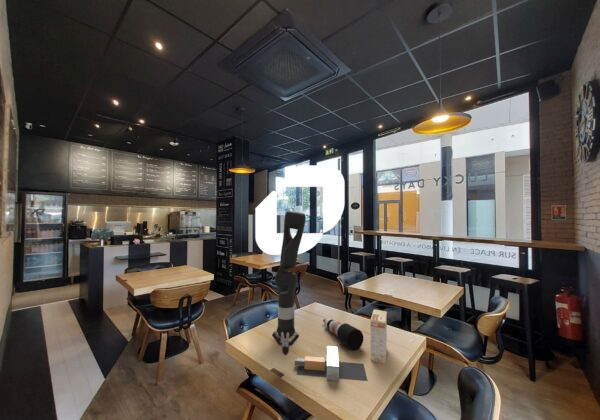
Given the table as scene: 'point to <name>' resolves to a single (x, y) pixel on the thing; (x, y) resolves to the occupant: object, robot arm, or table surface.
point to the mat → (345, 371)
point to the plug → (311, 363)
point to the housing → (332, 363)
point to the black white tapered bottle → (345, 333)
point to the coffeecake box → (379, 336)
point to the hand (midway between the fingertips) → (285, 353)
